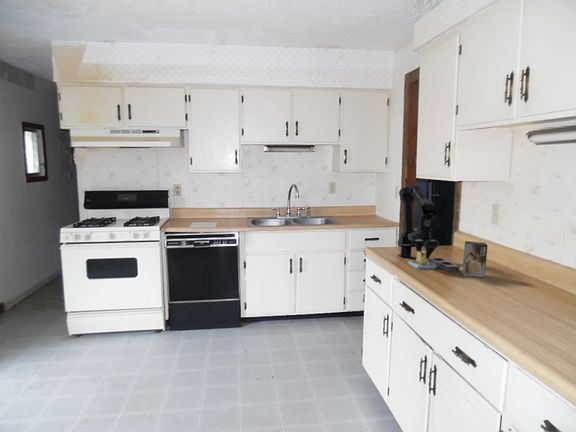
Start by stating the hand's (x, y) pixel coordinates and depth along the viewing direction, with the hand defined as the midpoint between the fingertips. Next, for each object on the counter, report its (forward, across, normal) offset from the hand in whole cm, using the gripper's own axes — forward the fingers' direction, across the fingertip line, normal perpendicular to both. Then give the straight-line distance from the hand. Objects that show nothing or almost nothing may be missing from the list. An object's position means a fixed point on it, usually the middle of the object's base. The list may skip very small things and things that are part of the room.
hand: (422, 256), depth 204 cm
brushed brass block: (+5, 0, 0) cm, 5 cm away
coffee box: (+5, +16, +18) cm, 25 cm away
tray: (+5, 0, 0) cm, 5 cm away
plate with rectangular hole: (+5, +1, +12) cm, 13 cm away
